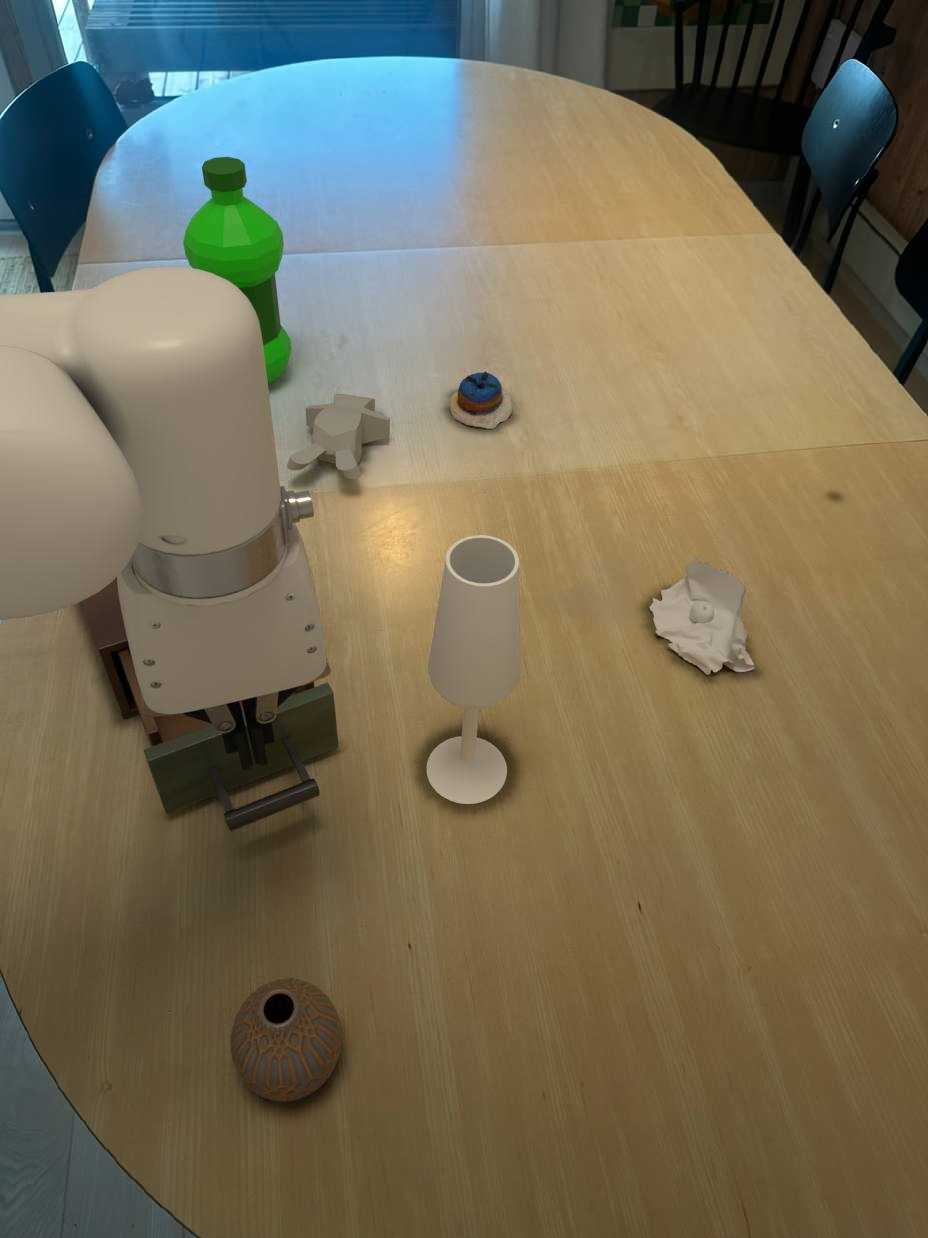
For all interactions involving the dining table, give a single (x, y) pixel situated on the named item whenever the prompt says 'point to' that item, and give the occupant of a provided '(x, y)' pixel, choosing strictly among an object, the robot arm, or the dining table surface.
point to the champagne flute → (474, 661)
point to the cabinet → (111, 641)
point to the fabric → (705, 619)
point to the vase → (286, 1039)
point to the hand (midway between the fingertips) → (250, 748)
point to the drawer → (201, 769)
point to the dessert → (481, 401)
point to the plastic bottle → (241, 251)
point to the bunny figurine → (341, 433)
